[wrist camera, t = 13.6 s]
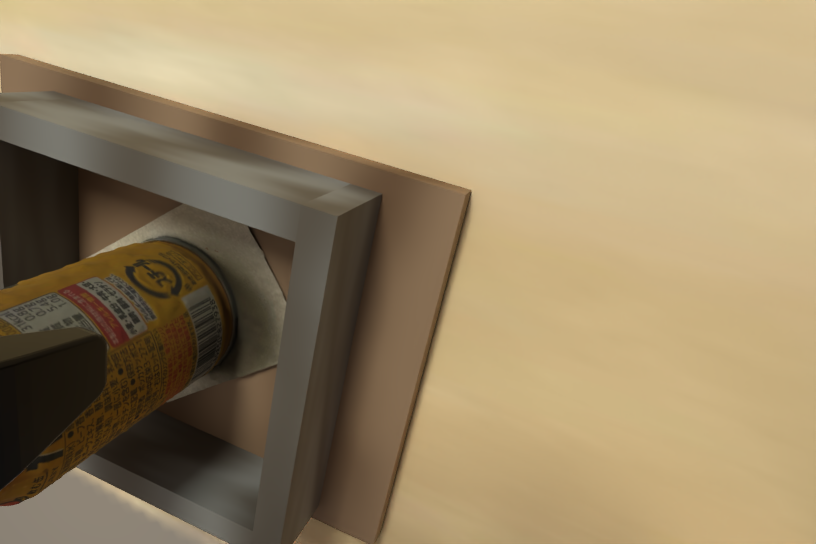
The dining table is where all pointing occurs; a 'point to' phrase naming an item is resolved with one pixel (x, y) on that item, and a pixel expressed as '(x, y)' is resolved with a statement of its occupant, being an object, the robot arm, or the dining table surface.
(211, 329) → the condiment
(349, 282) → the well caddy
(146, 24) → the dining table surface
